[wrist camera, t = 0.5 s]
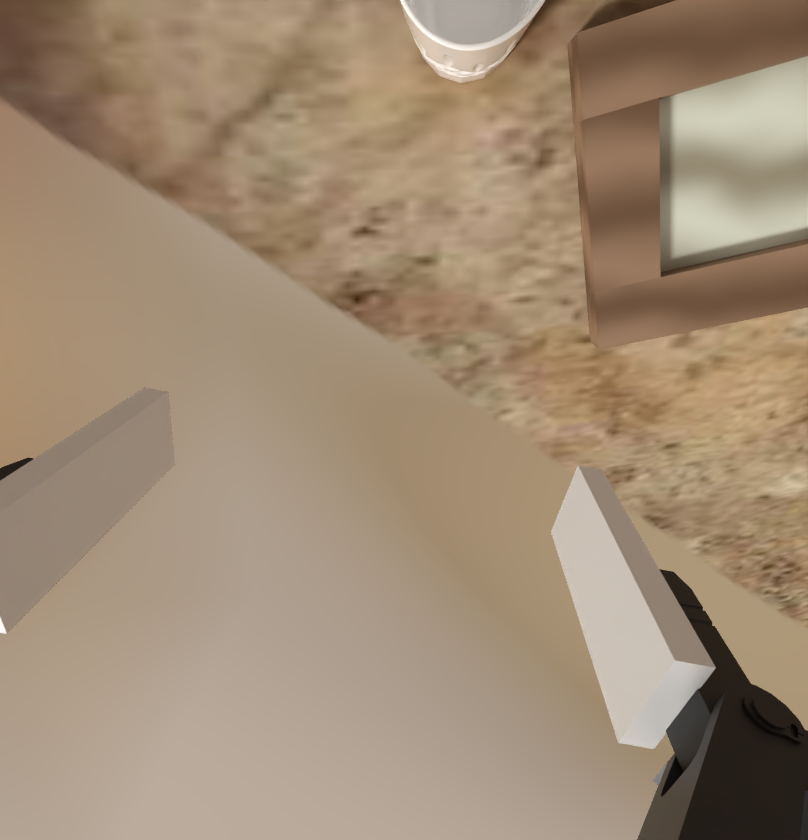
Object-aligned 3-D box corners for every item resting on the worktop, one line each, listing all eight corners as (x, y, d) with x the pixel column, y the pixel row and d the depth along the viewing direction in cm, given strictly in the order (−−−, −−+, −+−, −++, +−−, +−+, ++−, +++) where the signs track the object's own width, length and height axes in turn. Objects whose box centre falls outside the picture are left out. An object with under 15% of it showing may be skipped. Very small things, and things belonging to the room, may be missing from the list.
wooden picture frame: (567, 44, 29) (577, 32, 27) (934, -74, 25) (980, -100, 23) (590, 340, 37) (599, 349, 35) (869, 283, 33) (898, 288, 31)
